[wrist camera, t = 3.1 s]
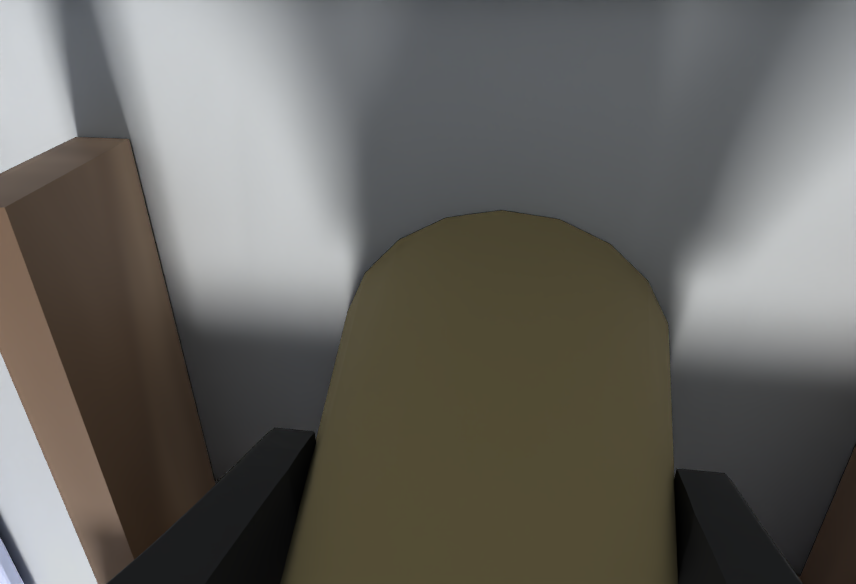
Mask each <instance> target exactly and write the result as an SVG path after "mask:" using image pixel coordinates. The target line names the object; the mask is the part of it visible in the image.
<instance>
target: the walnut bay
mask: <svg viewBox="0 0 856 584" xmlns="http://www.w3.org/2000/svg"><path fill="white" fill-rule="evenodd" d="M0 352H1V355H2V357H3V359H4V362H5V364H6V367H7V369H8V371H9V374H10V376H11V378H12V381H13V383H14V386H15V388H16V390H17V393H18V395H19V397H20V400H21V402H22V405H23V407H24V409H25V412H26V414H27V416H28V419H29V421H30V424H31V426H32V428H33V431H34V433H35V435H36V438H37V440H38V443H39V445H40V447H41V450H42V452H43V454H44V457H45V459H46V461H47V464H48V466H49V469H50V471H51V473H52V476H53V478H54V480H55V483H56V485H57V488H58V490H59V492H60V495H61V497H62V499H63V502H64V504H65V507H66V509H67V511H68V514H69V516H70V518H71V521H72V523H73V526H74V528H75V530H76V533H77V535H78V537H79V540H80V542H81V545H82V547H83V549H84V552H85V554H86V556H87V559H88V561H89V564H90V566H91V568H92V571H93V573H94V575H95V578H96V580H97V582H98V584H106V583H108V582H109V581H110V580H111V579H112V578H113V577H115V576H116V575H117V574H118V573H119V572H120V571H122V570H123V569H124V568H125V567H126V566H127V565H129V564H130V563H131V562H132V561H133V560H134V559H136V558H137V557H138V556H139V555H140V554H141V553H143V552H144V551H145V550H146V549H147V548H148V547H149V546H150V545H152V544H153V543H154V542H155V541H156V540H157V539H158V538H159V537H160V536H161V535H162V534H164V533H165V532H166V531H167V530H168V529H169V528H170V527H171V526H172V525H173V524H174V523H175V522H176V521H177V520H179V519H180V518H181V517H182V516H183V515H184V514H185V513H186V512H187V511H188V510H189V509H190V508H191V507H193V506H194V505H195V504H196V503H197V502H198V501H199V500H200V499H201V498H202V497H203V496H204V495H205V494H206V493H207V492H208V491H209V490H210V489H211V488H212V487H213V486H214V485H215V481H214V477H213V473H212V469H211V465H210V461H209V457H208V453H207V449H206V445H205V441H204V437H203V433H202V429H201V425H200V421H199V417H198V413H197V409H196V405H195V401H194V397H193V393H192V389H191V385H190V381H189V377H188V373H187V369H186V365H185V361H184V357H183V353H182V349H181V345H180V341H179V337H178V333H177V329H176V325H175V321H174V317H173V313H172V309H171V305H170V301H169V297H168V293H167V289H166V285H165V281H164V277H163V273H162V269H161V265H160V261H159V257H158V253H157V249H156V245H155V241H154V237H153V232H152V229H151V225H150V220H149V216H148V212H147V208H146V204H145V200H144V196H143V192H142V188H141V184H140V180H139V176H138V172H137V168H136V164H135V160H134V156H133V152H132V148H131V144H130V140H129V139H118V138H90V137H75V138H73V139H71V140H69V141H67V142H64V143H62V144H60V145H58V146H56V147H54V148H52V149H50V150H48V151H46V152H44V153H42V154H40V155H38V156H36V157H34V158H31V159H29V160H27V161H25V162H23V163H21V164H19V165H17V166H15V167H13V168H11V169H9V170H7V171H5V172H3V173H1V174H0ZM799 579H800V580H801V581H802V583H803V584H856V445H855V448H854V450H853V452H852V455H851V457H850V460H849V462H848V464H847V467H846V469H845V471H844V474H843V476H842V479H841V481H840V483H839V486H838V488H837V490H836V493H835V495H834V498H833V500H832V502H831V505H830V507H829V509H828V512H827V514H826V517H825V519H824V521H823V524H822V526H821V528H820V531H819V533H818V535H817V538H816V540H815V543H814V545H813V547H812V550H811V552H810V554H809V557H808V559H807V562H806V564H805V566H804V569H803V571H802V573H801V576H800V577H799Z"/></svg>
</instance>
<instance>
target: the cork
mask: <svg viewBox="0 0 856 584" xmlns="http://www.w3.org/2000/svg"><path fill="white" fill-rule="evenodd" d="M280 584H678V568H677V542H676V517H675V492H674V457H673V430H672V403H671V376H670V352H669V329H668V322H667V320H666V318H665V316H664V314H663V312H662V310H661V308H660V305H659V303H658V301H657V299H656V297H655V295H654V293H653V291H652V288H651V286H650V284H649V282H648V280H647V279H646V278H644V277H643V276H642V275H641V274H640V273H639V272H638V271H637V270H636V269H635V268H634V267H633V266H632V265H631V264H630V263H629V262H628V261H627V260H626V259H625V258H624V257H623V256H622V255H621V254H620V253H619V252H618V251H617V250H616V249H615V248H614V247H613V246H612V245H611V244H609V243H607V242H605V241H603V240H601V239H599V238H597V237H594V236H592V235H590V234H588V233H586V232H584V231H582V230H580V229H578V228H576V227H574V226H572V225H570V224H568V223H566V222H564V221H562V220H559V219H554V218H547V217H541V216H535V215H528V214H522V213H516V212H510V211H503V210H500V211H493V212H485V213H478V214H470V215H463V216H455V217H448V218H444V219H442V220H440V221H438V222H436V223H434V224H432V225H429V226H427V227H425V228H423V229H421V230H419V231H417V232H414V233H412V234H410V235H408V236H406V237H404V238H402V239H400V240H398V241H397V242H396V243H395V244H394V245H393V246H392V247H391V248H390V249H389V250H388V251H387V252H386V253H385V254H384V255H383V256H382V257H381V258H380V259H379V260H378V261H377V262H376V263H375V264H374V265H373V266H372V267H371V268H370V269H369V270H368V271H367V272H365V274H364V277H363V279H362V281H361V283H360V285H359V288H358V290H357V292H356V294H355V296H354V299H353V301H352V303H351V305H350V307H349V310H348V312H347V316H346V320H345V324H344V328H343V332H342V336H341V340H340V344H339V348H338V352H337V356H336V360H335V364H334V369H333V373H332V377H331V381H330V385H329V389H328V393H327V397H326V401H325V405H324V409H323V413H322V417H321V421H320V425H319V429H318V433H317V437H316V445H315V448H314V452H313V455H312V459H311V462H310V466H309V470H308V474H307V478H306V482H305V486H304V490H303V494H302V498H301V502H300V506H299V510H298V514H297V518H296V522H295V526H294V530H293V534H292V538H291V542H290V546H289V550H288V554H287V559H286V563H285V567H284V571H283V575H282V579H281V583H280Z"/></svg>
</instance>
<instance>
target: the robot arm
mask: <svg viewBox="0 0 856 584" xmlns="http://www.w3.org/2000/svg"><path fill="white" fill-rule="evenodd" d="M315 445H316V439H315V432H313V431H303V430H293V429H283V428H274V429H272V430H271V431H270V432H269V433H268V434H267V435H265V436H264V437H263V438H262V439H261V440H260V441H259V442H258V443H257V444H256V445H255V446H254V447H253V448H252V449H251V450H250V451H249V452H248V453H247V454H246V455H245V456H244V457H243V458H242V459H241V460H240V461H239V462H238V463H237V464H236V465H235V466H234V467H233V468H232V469H231V470H230V471H229V472H228V473H227V474H226V475H225V476H224V477H223V478H222V479H221V480H220V481H219V482H218V483H217V484H215V485H214V486H213V487H212V488H211V489H210V490H209V491H208V492H207V493H206V494H205V495H204V496H203V497H202V498H201V499H200V500H199V501H198V502H197V503H196V504H195V505H194V506H193V507H191V508H190V509H189V510H188V511H187V512H186V513H185V514H184V515H183V516H182V517H181V518H180V519H179V520H177V521H176V522H175V523H174V524H173V525H172V526H171V527H170V528H169V529H168V530H167V531H166V532H165V533H164V534H162V535H161V536H160V537H159V538H158V539H157V540H156V541H155V542H154V543H153V544H152V545H150V546H149V547H148V548H147V549H146V550H145V551H144V552H143V553H141V554H140V555H139V556H138V557H137V558H136V559H134V560H133V561H132V562H131V563H130V564H129V565H127V566H126V567H125V568H124V569H123V570H122V571H120V572H119V573H118V574H117V575H116V576H115V577H113V578H112V579H111V580H110V581H109V582H108V583H106V584H280V583H281V579H282V575H283V571H284V567H285V563H286V559H287V554H288V550H289V546H290V542H291V538H292V534H293V530H294V526H295V522H296V518H297V514H298V510H299V506H300V502H301V498H302V494H303V490H304V486H305V482H306V478H307V474H308V470H309V466H310V462H311V459H312V455H313V452H314V448H315ZM674 492H675V517H676V542H677V568H678V584H803V583H802V581H801V580H800V579H799V577H798V576H797V575H796V573H795V572H794V570H793V569H792V568H791V566H790V565H789V563H788V562H787V561H786V559H785V558H784V556H783V555H782V554H781V552H780V551H779V549H778V548H777V546H776V545H775V544H774V542H773V541H772V539H771V538H770V536H769V535H768V534H767V532H766V531H765V529H764V528H763V526H762V525H761V523H760V522H759V521H758V519H757V518H756V516H755V515H754V513H753V512H752V510H751V509H750V507H749V506H748V504H747V503H746V501H745V500H744V498H743V497H742V495H741V494H740V492H739V491H738V489H737V488H736V487H735V485H734V484H733V482H732V481H731V480H730V478H729V477H728V476H727V475H726V474H725V473H717V472H707V471H697V470H687V469H677V470H676V474H675V478H674ZM0 584H24V583H23V581H22V579H21V577H20V575H19V573H18V571H17V569H16V567H15V565H14V563H13V561H12V559H11V557H10V555H9V553H8V551H7V549H6V547H5V546H4V544H3V542H2V540H1V538H0Z"/></svg>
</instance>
